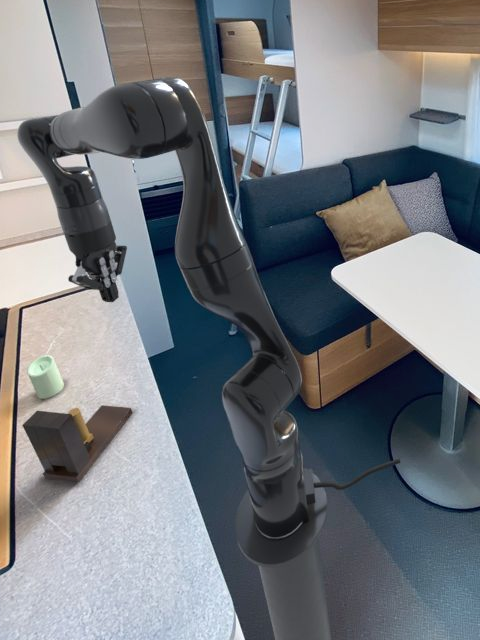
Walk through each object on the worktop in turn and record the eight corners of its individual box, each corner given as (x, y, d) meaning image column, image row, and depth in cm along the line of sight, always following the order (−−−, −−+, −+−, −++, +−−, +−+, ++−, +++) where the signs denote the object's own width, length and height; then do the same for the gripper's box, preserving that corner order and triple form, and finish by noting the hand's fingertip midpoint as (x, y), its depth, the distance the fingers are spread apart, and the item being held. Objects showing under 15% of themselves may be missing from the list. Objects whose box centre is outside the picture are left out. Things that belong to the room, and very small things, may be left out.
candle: (57, 396, 94) (46, 369, 91) (33, 401, 93) (20, 373, 90) (68, 380, 98) (57, 353, 95) (44, 383, 97) (33, 357, 94)
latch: (103, 410, 90) (85, 363, 85) (132, 412, 89) (116, 365, 84) (45, 478, 76) (19, 427, 71) (78, 482, 76) (55, 431, 70)
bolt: (84, 436, 82) (72, 407, 79) (93, 437, 82) (82, 408, 79) (60, 466, 77) (46, 435, 74) (69, 467, 76) (56, 436, 73)
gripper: (95, 208, 83) (117, 280, 89) (37, 239, 70) (68, 320, 77) (129, 209, 82) (149, 282, 88) (76, 240, 69) (104, 322, 76)
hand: (111, 299), depth 83 cm, fingers closed
